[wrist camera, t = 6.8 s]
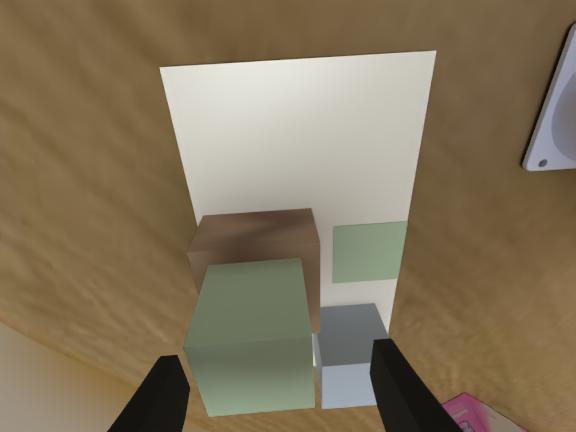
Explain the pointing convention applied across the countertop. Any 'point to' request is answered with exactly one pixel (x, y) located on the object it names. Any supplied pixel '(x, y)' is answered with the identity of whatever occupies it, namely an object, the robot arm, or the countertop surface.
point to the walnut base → (260, 246)
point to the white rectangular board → (311, 154)
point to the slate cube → (346, 354)
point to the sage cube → (252, 338)
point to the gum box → (478, 416)
